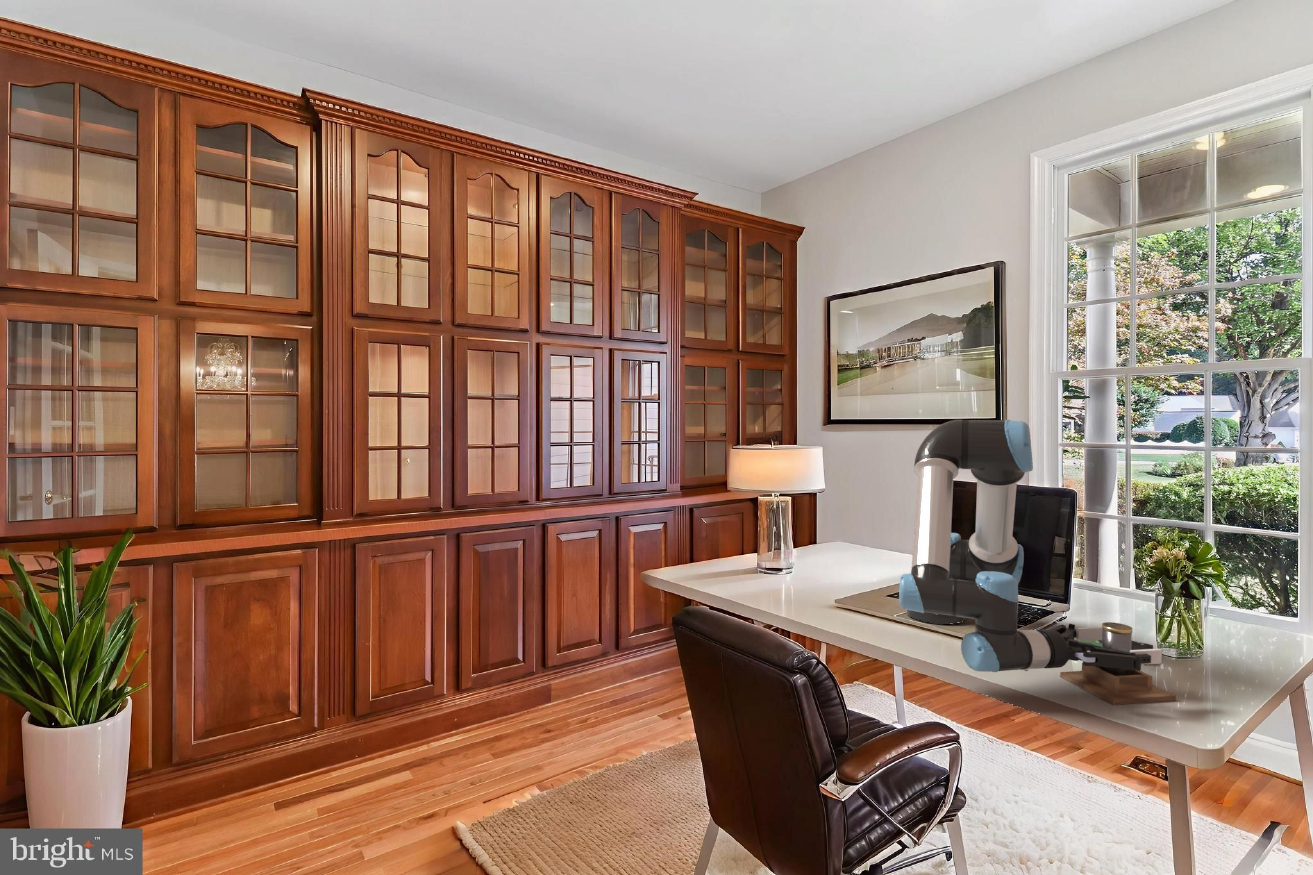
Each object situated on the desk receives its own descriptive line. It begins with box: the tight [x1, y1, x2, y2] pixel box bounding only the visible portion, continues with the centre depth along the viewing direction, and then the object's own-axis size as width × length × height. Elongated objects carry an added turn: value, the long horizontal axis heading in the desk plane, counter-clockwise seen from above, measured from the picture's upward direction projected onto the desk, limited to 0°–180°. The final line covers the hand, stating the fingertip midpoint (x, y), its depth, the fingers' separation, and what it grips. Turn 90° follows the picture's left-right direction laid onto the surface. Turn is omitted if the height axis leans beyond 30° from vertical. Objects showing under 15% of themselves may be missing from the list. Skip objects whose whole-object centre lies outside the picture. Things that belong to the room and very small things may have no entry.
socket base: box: [1059, 662, 1177, 706], centre depth 139 cm, size 14×14×4 cm
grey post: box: [1101, 621, 1133, 676], centre depth 139 cm, size 5×5×12 cm
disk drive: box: [1075, 638, 1154, 666], centre depth 160 cm, size 10×3×15 cm
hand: (1131, 644), depth 139 cm, fingers open, 13 cm apart
